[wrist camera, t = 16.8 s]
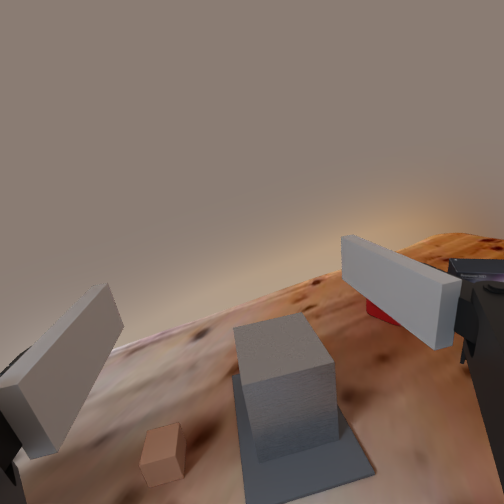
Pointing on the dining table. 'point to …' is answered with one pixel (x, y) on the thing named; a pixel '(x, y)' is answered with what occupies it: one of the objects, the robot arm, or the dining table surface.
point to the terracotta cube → (163, 455)
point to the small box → (477, 269)
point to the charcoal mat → (297, 463)
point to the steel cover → (287, 386)
